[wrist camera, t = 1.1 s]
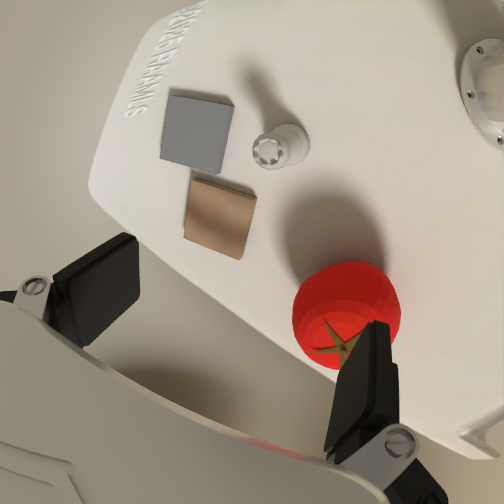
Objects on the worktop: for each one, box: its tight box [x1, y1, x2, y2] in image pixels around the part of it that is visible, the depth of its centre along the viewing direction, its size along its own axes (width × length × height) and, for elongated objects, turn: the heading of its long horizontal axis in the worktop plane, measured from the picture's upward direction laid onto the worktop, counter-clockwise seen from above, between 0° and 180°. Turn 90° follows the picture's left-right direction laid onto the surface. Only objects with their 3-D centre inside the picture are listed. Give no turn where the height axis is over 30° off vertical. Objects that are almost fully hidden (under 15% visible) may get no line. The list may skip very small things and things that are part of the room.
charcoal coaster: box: [160, 96, 235, 175], centre depth 32 cm, size 8×8×1 cm
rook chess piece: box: [252, 124, 310, 170], centre depth 26 cm, size 4×4×8 cm
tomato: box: [292, 261, 401, 370], centre depth 30 cm, size 12×12×10 cm
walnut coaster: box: [184, 178, 257, 260], centre depth 35 cm, size 8×8×1 cm
